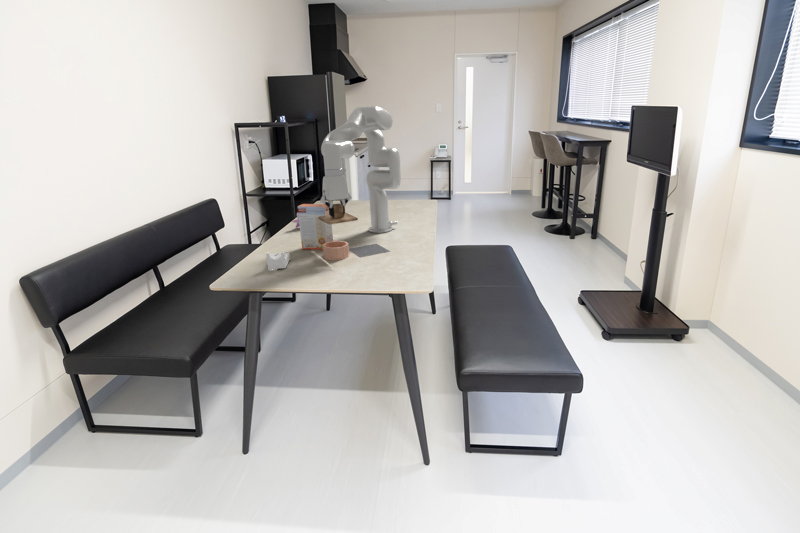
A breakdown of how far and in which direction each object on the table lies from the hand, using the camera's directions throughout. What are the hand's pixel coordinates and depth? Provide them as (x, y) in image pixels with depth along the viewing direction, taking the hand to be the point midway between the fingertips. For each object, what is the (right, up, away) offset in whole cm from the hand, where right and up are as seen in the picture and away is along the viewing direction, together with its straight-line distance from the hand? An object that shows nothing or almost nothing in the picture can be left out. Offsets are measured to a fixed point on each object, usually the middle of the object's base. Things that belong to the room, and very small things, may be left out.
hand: (337, 215), depth 201 cm
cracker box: (-12, -14, +20) cm, 27 cm away
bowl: (-1, -18, +5) cm, 19 cm away
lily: (-26, -1, +57) cm, 62 cm away
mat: (+13, -15, +12) cm, 23 cm away
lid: (0, -2, +1) cm, 2 cm away
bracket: (-25, -22, -1) cm, 33 cm away
